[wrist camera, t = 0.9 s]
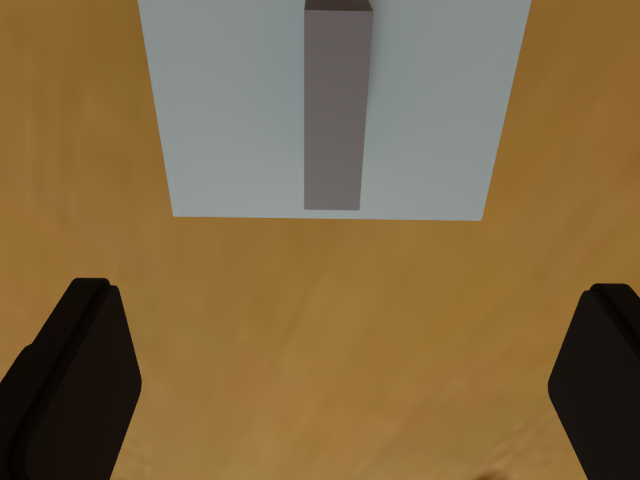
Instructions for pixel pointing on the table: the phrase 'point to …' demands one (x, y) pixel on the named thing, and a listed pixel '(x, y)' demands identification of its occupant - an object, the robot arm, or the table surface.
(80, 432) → the robot arm
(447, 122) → the lid
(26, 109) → the table surface
